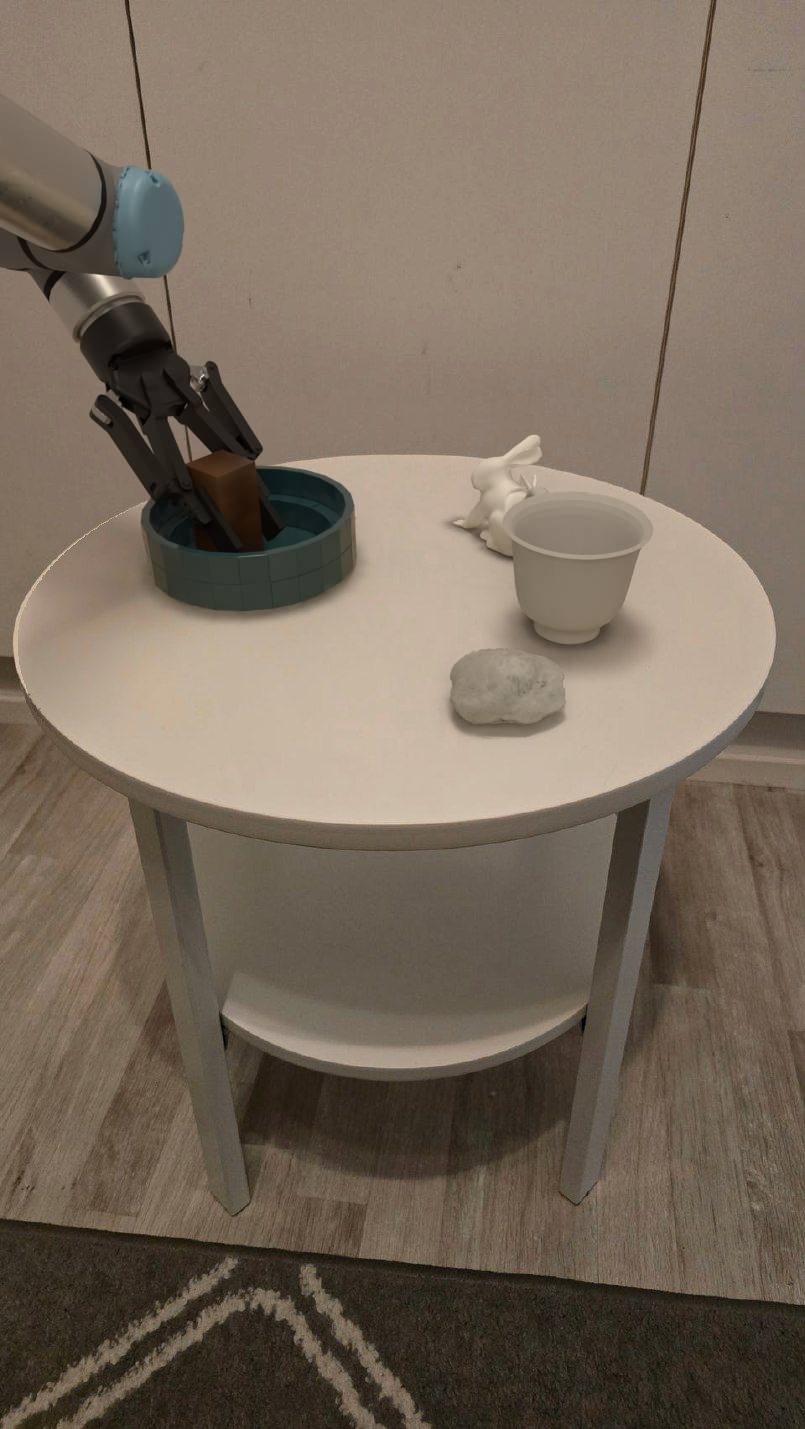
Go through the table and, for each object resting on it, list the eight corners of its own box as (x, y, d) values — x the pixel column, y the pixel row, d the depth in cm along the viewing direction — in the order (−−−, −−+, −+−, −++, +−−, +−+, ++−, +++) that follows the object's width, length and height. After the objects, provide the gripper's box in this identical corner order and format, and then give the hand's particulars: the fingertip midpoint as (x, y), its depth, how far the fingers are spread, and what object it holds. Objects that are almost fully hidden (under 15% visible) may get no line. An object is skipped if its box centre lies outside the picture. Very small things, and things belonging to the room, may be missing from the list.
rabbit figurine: (451, 523, 102) (453, 432, 96) (512, 507, 105) (517, 418, 99) (515, 571, 93) (522, 475, 88) (580, 553, 96) (590, 459, 90)
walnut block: (229, 579, 91) (216, 477, 85) (198, 564, 93) (183, 464, 87) (265, 561, 94) (255, 461, 88) (234, 547, 96) (221, 449, 90)
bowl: (146, 626, 86) (135, 565, 82) (155, 528, 102) (145, 473, 98) (368, 606, 88) (366, 546, 85) (344, 513, 104) (341, 459, 100)
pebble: (503, 666, 81) (506, 613, 78) (580, 708, 76) (586, 654, 73) (427, 708, 76) (427, 654, 73) (504, 757, 71) (508, 701, 68)
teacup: (583, 570, 94) (594, 470, 88) (663, 650, 82) (682, 542, 76) (464, 590, 91) (467, 488, 85) (531, 677, 79) (540, 566, 73)
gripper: (175, 328, 97) (305, 529, 98) (17, 373, 86) (165, 597, 87) (203, 279, 91) (341, 493, 92) (37, 320, 80) (196, 562, 81)
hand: (255, 543), depth 90 cm, fingers closed on walnut block, 4 cm apart
